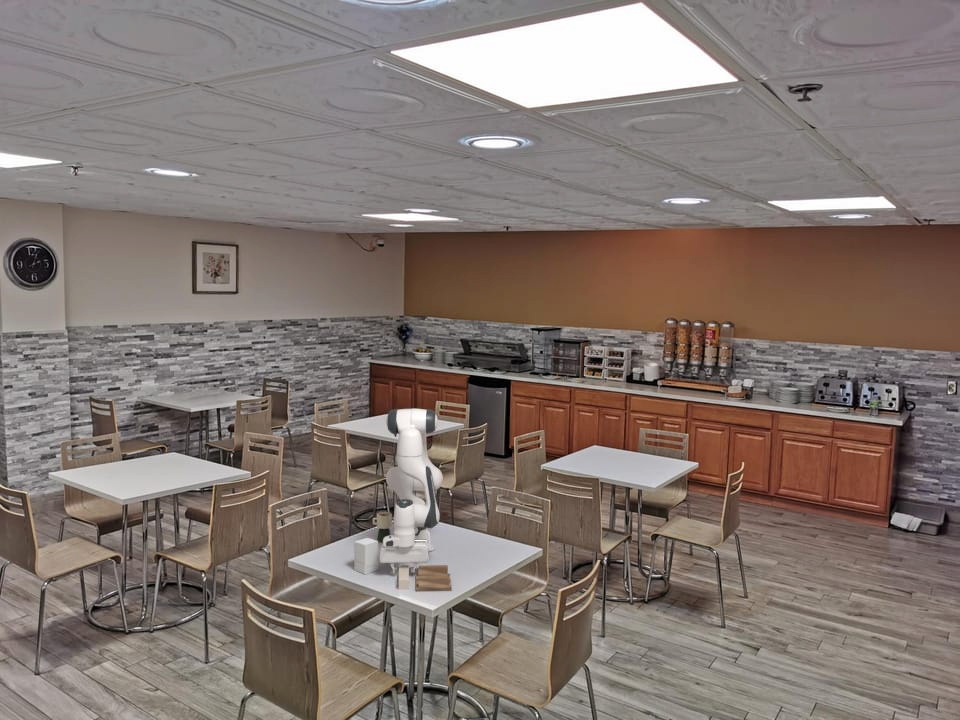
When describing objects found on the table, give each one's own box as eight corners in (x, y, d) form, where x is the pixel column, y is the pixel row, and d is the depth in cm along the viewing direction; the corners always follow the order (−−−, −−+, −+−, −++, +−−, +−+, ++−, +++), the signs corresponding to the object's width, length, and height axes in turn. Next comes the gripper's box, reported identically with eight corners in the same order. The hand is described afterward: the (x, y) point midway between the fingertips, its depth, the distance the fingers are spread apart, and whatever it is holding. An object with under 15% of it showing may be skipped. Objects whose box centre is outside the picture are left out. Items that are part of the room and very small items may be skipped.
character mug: (395, 538, 343) (395, 511, 342) (395, 542, 336) (395, 515, 335) (372, 538, 341) (372, 512, 340) (372, 543, 334) (372, 516, 333)
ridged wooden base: (415, 576, 294) (416, 565, 293) (449, 576, 295) (449, 564, 295) (416, 591, 279) (416, 579, 278) (451, 590, 280) (451, 578, 280)
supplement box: (378, 570, 300) (378, 541, 299) (364, 574, 295) (365, 545, 294) (367, 565, 305) (367, 537, 304) (353, 570, 300) (353, 541, 299)
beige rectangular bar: (399, 574, 296) (399, 565, 296) (408, 574, 297) (408, 565, 296) (398, 590, 280) (398, 580, 280) (408, 589, 281) (408, 580, 281)
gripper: (429, 537, 297) (428, 569, 298) (380, 537, 295) (379, 569, 296) (429, 541, 290) (429, 574, 291) (379, 542, 288) (379, 575, 289)
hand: (403, 572), depth 293 cm, fingers open, 6 cm apart
